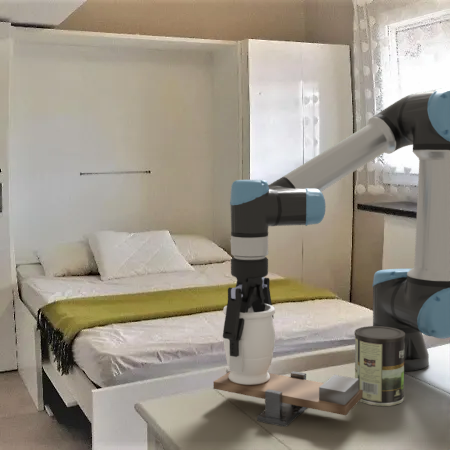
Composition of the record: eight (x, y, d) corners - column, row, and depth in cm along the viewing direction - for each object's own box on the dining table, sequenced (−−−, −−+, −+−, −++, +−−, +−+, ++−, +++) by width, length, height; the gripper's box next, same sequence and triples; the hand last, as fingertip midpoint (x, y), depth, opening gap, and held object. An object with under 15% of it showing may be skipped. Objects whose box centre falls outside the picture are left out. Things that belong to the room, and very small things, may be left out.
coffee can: (402, 389, 141) (403, 326, 139) (405, 408, 131) (407, 339, 129) (354, 387, 143) (354, 324, 141) (353, 404, 133) (354, 337, 131)
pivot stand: (257, 420, 125) (257, 390, 125) (287, 396, 137) (287, 369, 137) (285, 426, 122) (285, 396, 122) (313, 401, 134) (313, 373, 134)
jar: (267, 368, 139) (267, 300, 138) (281, 385, 129) (281, 311, 128) (218, 372, 137) (218, 303, 136) (229, 389, 127) (229, 315, 125)
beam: (213, 388, 132) (213, 369, 132) (237, 374, 141) (237, 356, 140) (345, 415, 118) (345, 394, 118) (362, 397, 127) (362, 377, 126)
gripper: (258, 248, 142) (258, 346, 145) (203, 263, 122) (204, 376, 125) (289, 250, 138) (289, 351, 141) (238, 266, 119) (238, 383, 121)
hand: (249, 363), depth 133 cm, fingers closed on jar, 10 cm apart
